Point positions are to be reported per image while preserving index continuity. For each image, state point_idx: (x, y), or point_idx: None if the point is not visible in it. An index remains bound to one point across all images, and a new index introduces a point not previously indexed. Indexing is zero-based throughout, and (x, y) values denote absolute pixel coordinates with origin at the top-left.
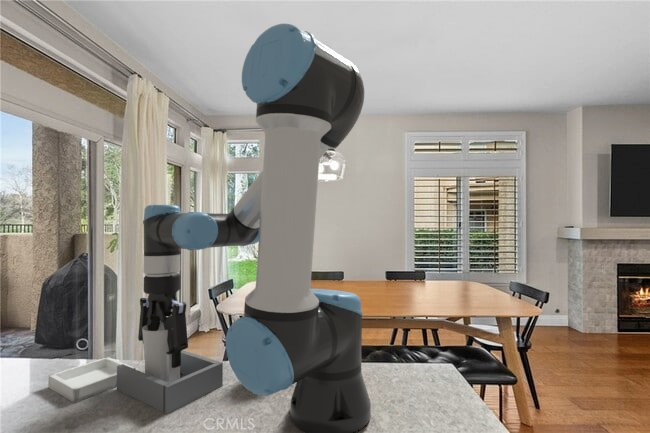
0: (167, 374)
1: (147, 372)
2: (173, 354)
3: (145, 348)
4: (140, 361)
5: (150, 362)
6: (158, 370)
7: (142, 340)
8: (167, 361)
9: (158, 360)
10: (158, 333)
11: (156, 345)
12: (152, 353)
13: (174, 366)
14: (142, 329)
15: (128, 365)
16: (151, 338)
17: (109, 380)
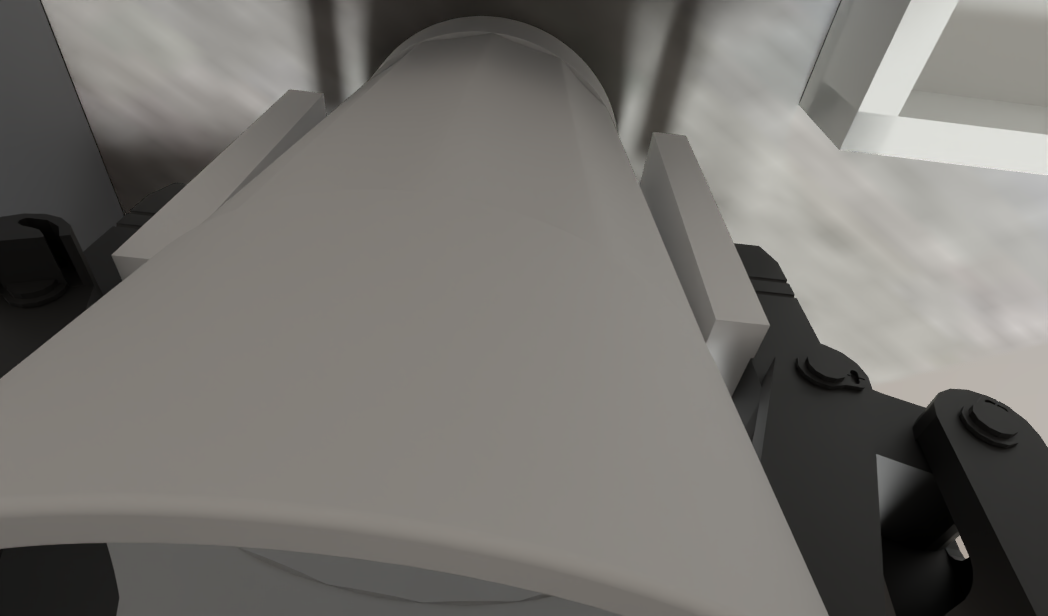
0: (275, 126)
1: (508, 58)
2: (95, 277)
3: (505, 180)
4: (999, 342)
5: (408, 90)
6: (347, 102)
7: (918, 412)
8: (211, 195)
9: (293, 148)
10: None
11: (160, 251)
12: (310, 146)
13: (158, 191)
14: (602, 568)
15: (975, 162)
16: (125, 313)
17: None
